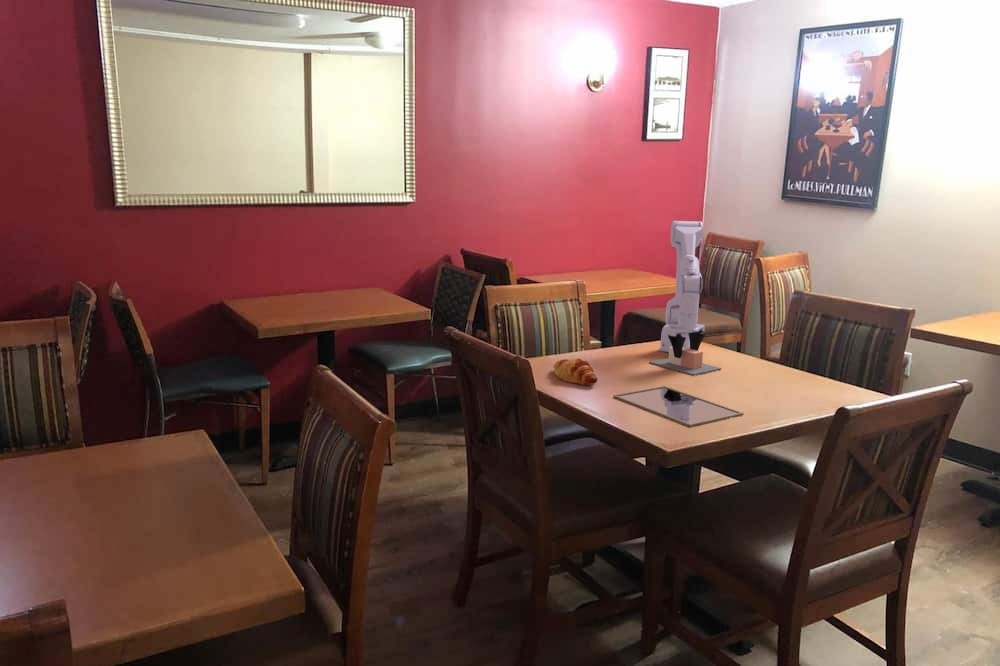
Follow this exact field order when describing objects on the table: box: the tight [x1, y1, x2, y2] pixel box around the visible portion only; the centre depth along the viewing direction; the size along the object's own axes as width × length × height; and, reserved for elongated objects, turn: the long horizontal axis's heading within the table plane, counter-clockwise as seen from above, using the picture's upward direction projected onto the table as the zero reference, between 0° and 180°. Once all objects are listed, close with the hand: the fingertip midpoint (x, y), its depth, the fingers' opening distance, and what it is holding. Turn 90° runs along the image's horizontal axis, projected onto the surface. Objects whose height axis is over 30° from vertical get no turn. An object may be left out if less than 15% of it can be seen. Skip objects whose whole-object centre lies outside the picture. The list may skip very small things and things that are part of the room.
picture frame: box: [612, 385, 744, 428], centre depth 204 cm, size 19×1×28 cm
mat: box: [648, 357, 722, 376], centre depth 245 cm, size 18×13×1 cm
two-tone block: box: [668, 347, 704, 369], centre depth 244 cm, size 4×10×5 cm, turn 38°
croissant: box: [553, 357, 598, 386], centre depth 227 cm, size 21×10×8 cm, turn 29°
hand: (685, 355), depth 244 cm, fingers open, 7 cm apart
